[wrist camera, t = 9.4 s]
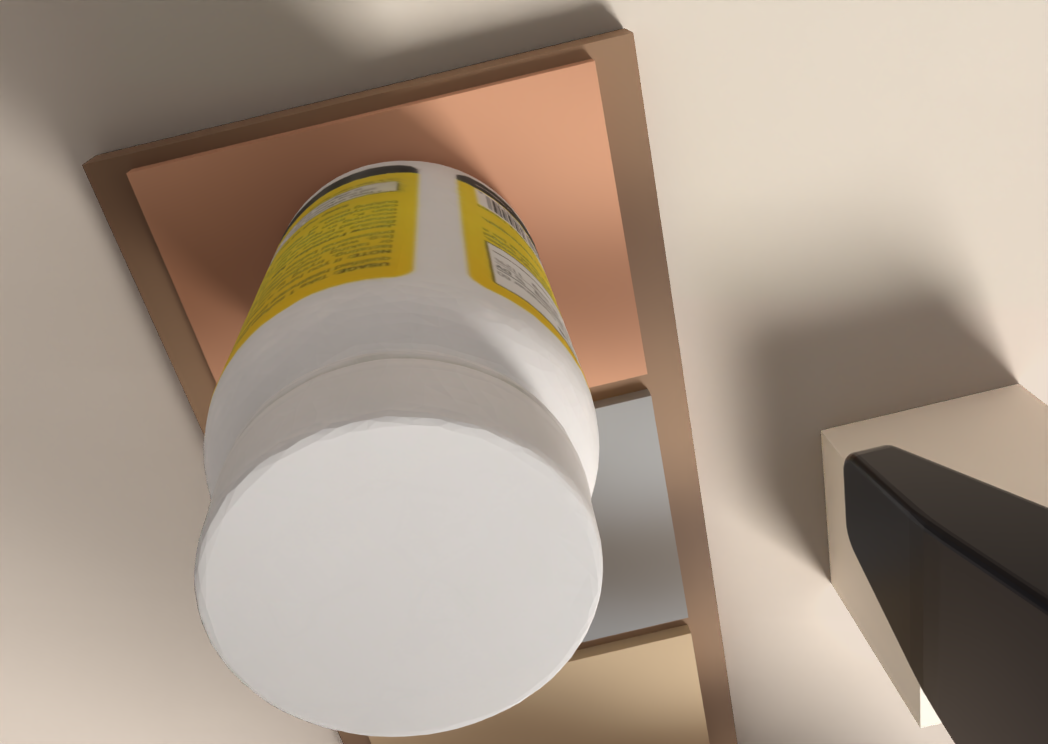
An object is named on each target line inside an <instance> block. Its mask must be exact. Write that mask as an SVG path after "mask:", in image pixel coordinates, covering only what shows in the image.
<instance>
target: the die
mask: <svg viewBox="0 0 1048 744" xmlns="http://www.w3.org/2000/svg"><path fill="white" fill-rule="evenodd" d="M821 440H822V455H823V470H824V485H825V499H826V514H827V529H828V544H829V559H830V574H831V584H832V585H833V587H834V588H835V590H836V592H837V593H838V595H839V597H840V598H841V600H842V601H843V603H844V605H845V606H846V608H847V610H848V611H849V613H850V614H851V616H852V618H853V619H854V621H855V623H856V624H857V626H858V627H859V629H860V631H861V632H862V634H863V636H864V637H865V639H866V640H867V642H868V644H869V645H870V647H871V649H872V650H873V652H874V653H875V655H876V657H877V658H878V660H879V662H880V663H881V665H882V666H883V668H884V670H885V671H886V673H887V675H888V676H889V678H890V679H891V681H892V683H893V684H894V686H895V687H896V689H897V691H898V692H899V694H900V696H901V697H902V699H903V700H904V702H905V704H906V705H907V707H908V709H909V710H910V712H911V713H912V715H913V717H914V718H915V720H916V722H917V723H918V725H919V726H920V728H923V727H927V726H932V725H936V724H940V723H942V722H941V721H940V719H939V717H938V716H937V714H936V712H935V711H934V709H933V707H932V706H931V704H930V702H929V701H928V699H927V697H926V696H925V694H924V692H923V691H922V689H921V687H920V685H919V683H918V681H917V679H916V677H915V675H914V673H913V671H912V669H911V667H910V665H909V663H908V661H907V659H906V657H905V655H904V653H903V651H902V649H901V647H900V645H899V643H898V641H897V639H896V637H895V635H894V633H893V631H892V629H891V627H890V625H889V622H888V620H887V618H886V616H885V614H884V612H883V610H882V608H881V606H880V604H879V602H878V600H877V598H876V596H875V594H874V592H873V590H872V588H871V586H870V584H869V582H868V580H867V578H866V576H865V574H864V571H863V569H862V567H861V565H860V563H859V561H858V559H857V557H856V555H855V553H854V551H853V549H852V546H851V543H850V541H849V537H848V533H847V528H846V515H845V495H844V476H843V466H844V462H845V459H846V457H847V456H848V455H849V454H850V453H853V452H857V451H861V450H866V449H870V448H874V447H878V446H883V445H892V446H895V447H898V448H901V449H903V450H906V451H908V452H911V453H913V454H916V455H918V456H921V457H923V458H926V459H928V460H931V461H933V462H936V463H938V464H941V465H943V466H946V467H948V468H951V469H953V470H956V471H958V472H961V473H963V474H966V475H968V476H971V477H973V478H976V479H978V480H981V481H983V482H986V483H988V484H991V485H993V486H996V487H998V488H1001V489H1003V490H1006V491H1008V492H1011V493H1013V494H1016V495H1018V496H1021V497H1023V498H1026V499H1028V500H1031V501H1033V502H1036V503H1038V504H1041V505H1043V506H1046V507H1048V406H1047V405H1046V404H1045V403H1043V402H1042V401H1041V400H1040V399H1038V398H1037V397H1036V396H1034V395H1033V394H1032V393H1031V392H1029V391H1028V390H1027V389H1025V388H1024V387H1023V386H1021V385H1020V384H1015V385H1010V386H1006V387H1002V388H998V389H994V390H989V391H985V392H981V393H977V394H972V395H968V396H964V397H960V398H956V399H951V400H947V401H943V402H939V403H934V404H930V405H926V406H922V407H918V408H913V409H909V410H905V411H901V412H896V413H892V414H888V415H884V416H880V417H875V418H871V419H867V420H863V421H859V422H854V423H850V424H846V425H842V426H837V427H833V428H829V429H825V430H821Z"/></svg>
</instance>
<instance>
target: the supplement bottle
mask: <svg viewBox="0 0 1048 744" xmlns="http://www.w3.org/2000/svg"><path fill="white" fill-rule="evenodd" d="M598 464H599V432H598V425H597V418H596V411H595V407H594V403H593V400H592V396H591V392H590V389H589V386H588V384H587V381H586V378H585V375H584V373H583V371H582V369H581V366H580V363H579V361H578V358H577V355H576V353H575V350H574V348H573V345H572V342H571V340H570V337H569V334H568V332H567V329H566V327H565V324H564V321H563V319H562V316H561V313H560V311H559V308H558V305H557V303H556V300H555V297H554V295H553V292H552V289H551V287H550V284H549V281H548V279H547V276H546V274H545V271H544V268H543V266H542V264H541V261H540V258H539V255H538V252H537V249H536V247H535V244H534V242H533V240H532V238H531V236H530V234H529V232H528V230H527V228H526V227H525V225H524V223H523V222H522V220H521V219H520V217H519V216H518V215H517V213H516V212H515V211H514V210H513V208H512V207H511V206H510V205H509V204H508V203H507V202H506V201H505V200H504V199H503V198H502V197H501V196H500V195H499V194H498V193H496V192H495V191H494V190H493V189H491V188H490V187H489V186H487V185H486V184H484V183H483V182H481V181H480V180H478V179H476V178H474V177H472V176H470V175H469V174H466V173H464V172H462V171H459V170H457V169H454V168H451V167H448V166H444V165H440V164H436V163H430V162H423V161H389V162H381V163H376V164H371V165H367V166H363V167H360V168H357V169H354V170H352V171H349V172H347V173H345V174H343V175H341V176H339V177H337V178H335V179H334V180H332V181H331V182H329V183H327V184H326V185H325V186H323V187H322V188H321V189H319V190H318V191H317V192H316V193H315V194H314V195H312V196H311V197H310V198H309V199H308V200H307V201H306V202H305V203H304V204H303V206H302V207H301V208H300V209H299V211H298V212H297V213H296V215H295V216H294V218H293V219H292V221H291V222H290V224H289V226H288V227H287V229H286V231H285V233H284V235H283V236H282V238H281V240H280V243H279V245H278V248H277V250H276V252H275V254H274V256H273V259H272V261H271V263H270V266H269V268H268V270H267V272H266V275H265V277H264V279H263V281H262V283H261V285H260V288H259V290H258V292H257V295H256V297H255V300H254V302H253V304H252V306H251V308H250V311H249V313H248V315H247V317H246V319H245V321H244V324H243V326H242V328H241V330H240V333H239V335H238V337H237V340H236V342H235V344H234V347H233V349H232V351H231V353H230V356H229V358H228V360H227V362H226V364H225V366H224V369H223V371H222V373H221V376H220V378H219V380H218V382H217V384H216V387H215V389H214V392H213V395H212V399H211V402H210V406H209V411H208V416H207V422H206V429H205V438H204V467H205V473H206V480H207V485H208V489H209V493H210V497H211V503H210V506H209V509H208V513H207V516H206V519H205V522H204V525H203V529H202V532H201V535H200V538H199V542H198V547H197V553H196V561H195V570H194V585H195V594H196V600H197V606H198V610H199V614H200V617H201V621H202V624H203V626H204V628H205V631H206V633H207V635H208V637H209V640H210V642H211V644H212V645H213V647H214V648H215V650H216V651H217V653H218V654H219V656H220V657H221V659H222V660H223V661H224V663H225V664H226V666H227V667H228V668H229V669H230V670H231V671H232V672H233V673H234V674H235V675H236V676H237V677H238V678H239V679H240V680H241V681H242V682H243V683H244V684H245V685H246V686H247V687H249V688H250V689H251V690H252V691H253V692H255V693H256V694H257V695H258V696H260V697H261V698H262V699H264V700H265V701H267V702H268V703H270V704H271V705H273V706H275V707H276V708H278V709H280V710H282V711H283V712H286V713H288V714H290V715H292V716H295V717H297V718H299V719H302V720H304V721H307V722H310V723H313V724H316V725H318V726H321V727H325V728H329V729H332V730H338V731H343V732H347V733H353V734H359V735H366V736H381V737H406V736H417V735H429V734H434V733H440V732H445V731H449V730H454V729H458V728H461V727H464V726H467V725H470V724H474V723H477V722H479V721H482V720H484V719H487V718H489V717H492V716H494V715H496V714H498V713H501V712H503V711H505V710H507V709H509V708H511V707H512V706H514V705H516V704H518V703H520V702H522V701H523V700H524V699H525V698H527V697H528V696H530V695H531V694H533V693H534V692H536V691H537V690H539V689H540V688H541V687H543V686H544V685H545V684H546V683H547V682H548V681H550V680H551V679H552V678H553V677H554V676H555V675H556V674H557V673H558V672H559V671H560V670H561V669H562V667H563V666H564V665H565V664H566V663H567V662H568V660H569V659H570V658H571V657H572V656H573V654H574V653H575V651H576V649H577V648H578V647H579V645H580V644H581V642H582V641H583V639H584V637H585V636H586V634H587V632H588V629H589V627H590V625H591V623H592V620H593V618H594V615H595V612H596V609H597V605H598V602H599V598H600V594H601V587H602V578H603V556H602V547H601V539H600V535H599V531H598V527H597V523H596V519H595V515H594V511H593V507H592V502H591V497H592V493H593V490H594V486H595V482H596V476H597V471H598Z"/></svg>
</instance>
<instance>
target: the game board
mask: <svg viewBox="0 0 1048 744" xmlns="http://www.w3.org/2000/svg"><path fill="white" fill-rule="evenodd" d="M389 161H423V162H430V163H436V164H440V165H444V166H448V167H451V168H454V169H457V170H459V171H462V172H464V173H466V174H469V175H470V176H472V177H474V178H476V179H478V180H480V181H481V182H483V183H484V184H486V185H487V186H489V187H490V188H491V189H493V190H494V191H495V192H496V193H498V194H499V195H500V196H501V197H502V198H503V199H504V200H505V201H506V202H507V203H508V204H509V205H510V206H511V207H512V208H513V210H514V211H515V212H516V213H517V215H518V216H519V217H520V219H521V220H522V222H523V223H524V225H525V227H526V228H527V230H528V232H529V234H530V236H531V238H532V240H533V242H534V244H535V247H536V249H537V252H538V255H539V258H540V261H541V264H542V266H543V268H544V271H545V274H546V276H547V279H548V281H549V284H550V287H551V289H552V292H553V295H554V297H555V300H556V303H557V305H558V308H559V311H560V313H561V316H562V319H563V321H564V324H565V327H566V329H567V332H568V334H569V337H570V340H571V342H572V345H573V348H574V350H575V353H576V355H577V358H578V361H579V363H580V366H581V369H582V371H583V373H584V375H585V378H586V381H587V384H588V386H589V389H590V392H591V396H592V400H593V403H594V407H595V411H596V418H597V425H598V432H599V464H598V471H597V476H596V482H595V486H594V490H593V493H592V497H591V502H592V507H593V511H594V515H595V519H596V523H597V527H598V531H599V535H600V539H601V547H602V556H603V578H602V587H601V594H600V598H599V602H598V605H597V609H596V612H595V615H594V618H593V620H592V623H591V625H590V627H589V629H588V632H587V634H586V636H585V637H584V639H583V641H582V642H581V644H580V645H579V647H578V648H577V649H576V651H575V653H574V654H573V656H572V657H571V658H570V659H569V660H568V662H567V663H566V664H565V665H564V666H563V667H562V669H561V670H560V671H559V672H558V673H557V674H556V675H555V676H554V677H553V678H552V679H551V680H550V681H548V682H547V683H546V684H545V685H544V686H543V687H541V688H540V689H539V690H537V691H536V692H534V693H533V694H531V695H530V696H528V697H527V698H525V699H524V700H523V701H522V702H520V703H518V704H516V705H514V706H512V707H511V708H509V709H507V710H505V711H503V712H501V713H498V714H496V715H494V716H492V717H489V718H487V719H484V720H482V721H479V722H477V723H474V724H470V725H467V726H464V727H461V728H458V729H454V730H449V731H445V732H440V733H434V734H429V735H417V736H406V737H381V736H366V735H359V734H353V733H347V732H343V731H338V733H339V735H340V737H341V739H342V741H343V744H737V738H736V731H735V725H734V718H733V711H732V704H731V697H730V691H729V684H728V677H727V670H726V663H725V656H724V650H723V643H722V636H721V629H720V622H719V615H718V609H717V602H716V595H715V588H714V581H713V575H712V568H711V561H710V554H709V547H708V540H707V534H706V527H705V520H704V513H703V506H702V499H701V493H700V486H699V479H698V472H697V465H696V459H695V452H694V445H693V438H692V431H691V424H690V418H689V411H688V404H687V397H686V390H685V383H684V377H683V370H682V363H681V356H680V349H679V343H678V336H677V329H676V322H675V315H674V308H673V302H672V295H671V288H670V281H669V274H668V267H667V261H666V254H665V247H664V240H663V233H662V227H661V220H660V213H659V206H658V199H657V192H656V186H655V179H654V172H653V165H652V158H651V152H650V145H649V138H648V131H647V124H646V117H645V111H644V104H643V97H642V90H641V83H640V76H639V70H638V63H637V56H636V49H635V42H634V36H633V32H631V31H629V30H627V29H625V28H624V29H620V30H616V31H612V32H608V33H604V34H599V35H595V36H591V37H587V38H583V39H579V40H574V41H570V42H566V43H562V44H558V45H554V46H549V47H545V48H541V49H537V50H533V51H529V52H525V53H520V54H516V55H512V56H508V57H504V58H500V59H495V60H491V61H487V62H483V63H479V64H475V65H470V66H466V67H462V68H458V69H454V70H450V71H446V72H441V73H437V74H433V75H429V76H425V77H421V78H416V79H412V80H408V81H404V82H400V83H396V84H392V85H387V86H383V87H379V88H375V89H371V90H367V91H362V92H358V93H354V94H350V95H346V96H342V97H337V98H333V99H329V100H325V101H321V102H317V103H313V104H308V105H304V106H300V107H296V108H292V109H288V110H283V111H279V112H275V113H271V114H267V115H263V116H258V117H254V118H250V119H246V120H242V121H238V122H234V123H229V124H225V125H221V126H217V127H213V128H209V129H204V130H200V131H196V132H192V133H188V134H184V135H179V136H175V137H171V138H167V139H163V140H159V141H155V142H150V143H146V144H142V145H138V146H134V147H130V148H125V149H121V150H117V151H113V152H109V153H105V154H100V155H96V156H95V157H93V158H92V159H90V160H89V161H87V162H86V163H85V164H83V165H82V166H83V168H84V170H85V173H86V175H87V177H88V179H89V181H90V184H91V186H92V188H93V190H94V193H95V195H96V197H97V199H98V201H99V204H100V206H101V208H102V210H103V212H104V215H105V217H106V219H107V221H108V223H109V226H110V228H111V230H112V232H113V235H114V237H115V239H116V241H117V243H118V246H119V248H120V250H121V252H122V254H123V257H124V259H125V261H126V263H127V266H128V268H129V270H130V272H131V274H132V277H133V279H134V281H135V283H136V285H137V288H138V290H139V292H140V294H141V297H142V299H143V301H144V303H145V305H146V308H147V310H148V312H149V314H150V316H151V319H152V321H153V323H154V325H155V328H156V330H157V332H158V334H159V336H160V339H161V341H162V343H163V345H164V347H165V350H166V352H167V354H168V356H169V359H170V361H171V363H172V365H173V367H174V370H175V372H176V374H177V376H178V378H179V381H180V383H181V385H182V387H183V390H184V392H185V394H186V396H187V398H188V401H189V403H190V405H191V407H192V409H193V412H194V414H195V416H196V418H197V421H198V423H199V425H200V427H201V429H202V432H203V434H204V436H205V429H206V422H207V416H208V411H209V406H210V402H211V399H212V395H213V392H214V389H215V387H216V384H217V382H218V380H219V378H220V376H221V373H222V371H223V369H224V366H225V364H226V362H227V360H228V358H229V356H230V353H231V351H232V349H233V347H234V344H235V342H236V340H237V337H238V335H239V333H240V330H241V328H242V326H243V324H244V321H245V319H246V317H247V315H248V313H249V311H250V308H251V306H252V304H253V302H254V300H255V297H256V295H257V292H258V290H259V288H260V285H261V283H262V281H263V279H264V277H265V275H266V272H267V270H268V268H269V266H270V263H271V261H272V259H273V256H274V254H275V252H276V250H277V248H278V245H279V243H280V240H281V238H282V236H283V235H284V233H285V231H286V229H287V227H288V226H289V224H290V222H291V221H292V219H293V218H294V216H295V215H296V213H297V212H298V211H299V209H300V208H301V207H302V206H303V204H304V203H305V202H306V201H307V200H308V199H309V198H310V197H311V196H312V195H314V194H315V193H316V192H317V191H318V190H319V189H321V188H322V187H323V186H325V185H326V184H327V183H329V182H331V181H332V180H334V179H335V178H337V177H339V176H341V175H343V174H345V173H347V172H349V171H352V170H354V169H357V168H360V167H363V166H367V165H371V164H376V163H381V162H389Z"/></svg>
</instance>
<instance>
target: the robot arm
mask: <svg viewBox="0 0 1048 744" xmlns="http://www.w3.org/2000/svg"><path fill="white" fill-rule="evenodd" d="M843 476H844V495H845V515H846V528H847V533H848V537H849V541H850V543H851V546H852V549H853V551H854V553H855V555H856V557H857V559H858V561H859V563H860V565H861V567H862V569H863V571H864V574H865V576H866V578H867V580H868V582H869V584H870V586H871V588H872V590H873V592H874V594H875V596H876V598H877V600H878V602H879V604H880V606H881V608H882V610H883V612H884V614H885V616H886V618H887V620H888V622H889V625H890V627H891V629H892V631H893V633H894V635H895V637H896V639H897V641H898V643H899V645H900V647H901V649H902V651H903V653H904V655H905V657H906V659H907V661H908V663H909V665H910V667H911V669H912V671H913V673H914V675H915V677H916V679H917V681H918V683H919V685H920V687H921V689H922V691H923V692H924V694H925V696H926V697H927V699H928V701H929V702H930V704H931V706H932V707H933V709H934V711H935V712H936V714H937V716H938V717H939V719H940V721H941V722H942V724H943V725H944V727H945V728H946V730H947V732H948V733H949V735H950V736H951V738H952V739H953V741H954V742H955V744H1048V507H1046V506H1043V505H1041V504H1038V503H1036V502H1033V501H1031V500H1028V499H1026V498H1023V497H1021V496H1018V495H1016V494H1013V493H1011V492H1008V491H1006V490H1003V489H1001V488H998V487H996V486H993V485H991V484H988V483H986V482H983V481H981V480H978V479H976V478H973V477H971V476H968V475H966V474H963V473H961V472H958V471H956V470H953V469H951V468H948V467H946V466H943V465H941V464H938V463H936V462H933V461H931V460H928V459H926V458H923V457H921V456H918V455H916V454H913V453H911V452H908V451H906V450H903V449H901V448H898V447H895V446H892V445H883V446H878V447H874V448H870V449H866V450H861V451H857V452H853V453H850V454H849V455H848V456H847V457H846V459H845V462H844V466H843Z"/></svg>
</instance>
